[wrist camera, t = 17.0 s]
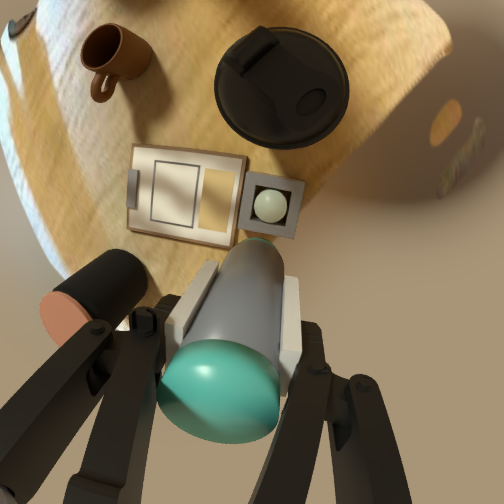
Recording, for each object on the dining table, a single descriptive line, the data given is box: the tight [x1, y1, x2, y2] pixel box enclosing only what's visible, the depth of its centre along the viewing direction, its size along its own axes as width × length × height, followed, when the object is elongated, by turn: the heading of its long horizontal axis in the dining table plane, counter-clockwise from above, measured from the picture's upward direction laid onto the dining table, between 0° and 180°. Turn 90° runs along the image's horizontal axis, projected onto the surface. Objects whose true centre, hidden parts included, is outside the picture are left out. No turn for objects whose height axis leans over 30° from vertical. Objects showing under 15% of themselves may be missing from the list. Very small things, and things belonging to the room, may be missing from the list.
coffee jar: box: [40, 249, 147, 347], centre depth 41 cm, size 11×11×18 cm
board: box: [126, 144, 247, 249], centre depth 42 cm, size 14×18×2 cm
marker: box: [156, 237, 284, 444], centre depth 15 cm, size 4×4×14 cm
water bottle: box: [214, 26, 349, 150], centre depth 26 cm, size 10×10×23 cm
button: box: [254, 188, 287, 223], centre depth 40 cm, size 4×4×3 cm
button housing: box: [238, 171, 305, 239], centre depth 41 cm, size 8×8×2 cm
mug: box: [81, 23, 151, 103], centre depth 32 cm, size 12×8×9 cm, turn 171°
